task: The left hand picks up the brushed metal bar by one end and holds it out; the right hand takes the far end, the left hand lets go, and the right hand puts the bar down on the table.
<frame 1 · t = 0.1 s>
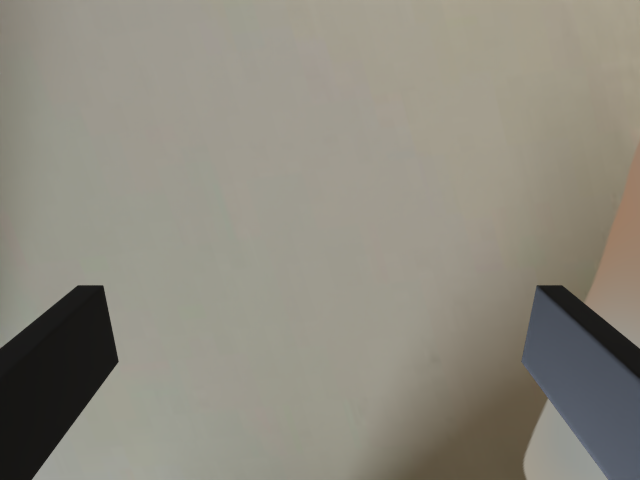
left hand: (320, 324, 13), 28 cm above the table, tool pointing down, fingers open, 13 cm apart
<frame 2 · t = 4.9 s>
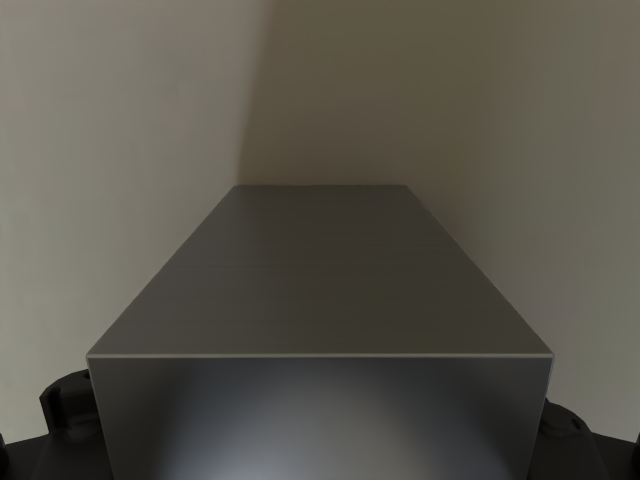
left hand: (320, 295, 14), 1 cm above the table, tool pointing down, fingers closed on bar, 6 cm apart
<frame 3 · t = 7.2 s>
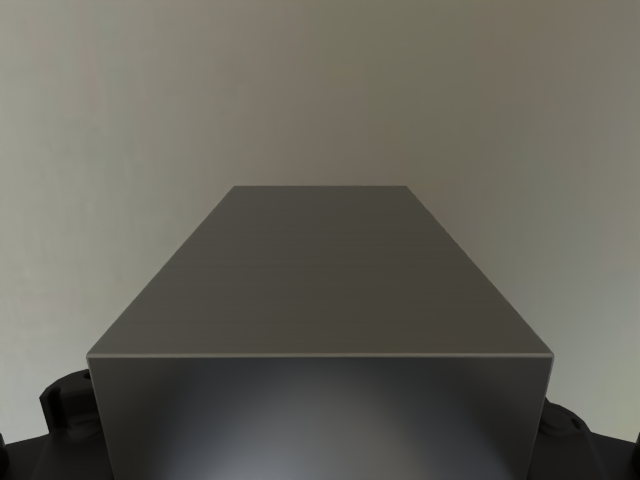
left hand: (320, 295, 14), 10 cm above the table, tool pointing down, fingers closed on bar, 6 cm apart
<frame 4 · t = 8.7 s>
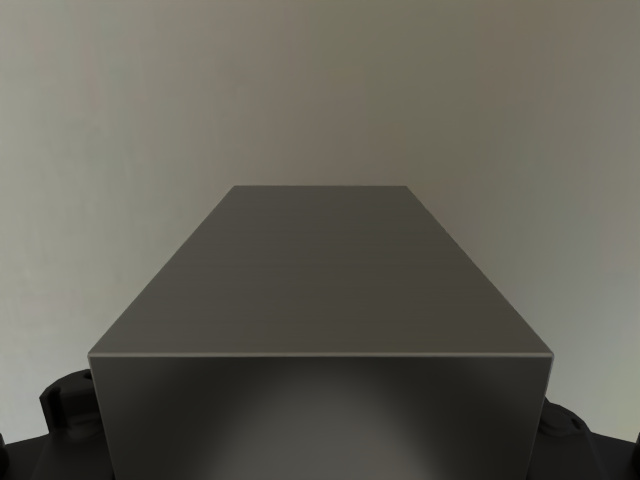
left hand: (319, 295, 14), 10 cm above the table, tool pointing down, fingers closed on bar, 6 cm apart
when the left hand's fingers open (10 cm above the table, at t = 9.8 s): bar stays where it is, held by the right hand.
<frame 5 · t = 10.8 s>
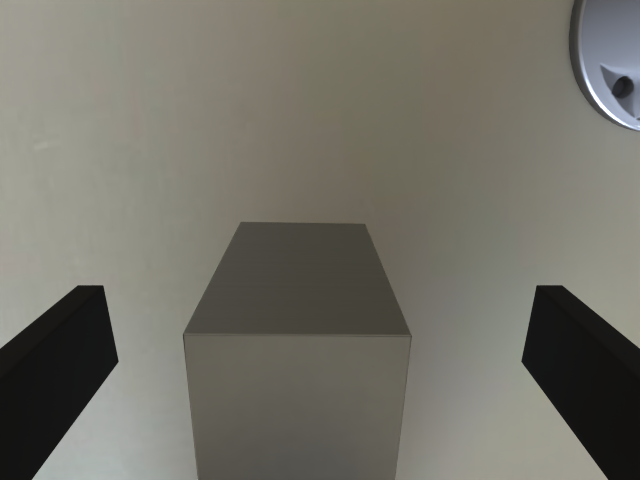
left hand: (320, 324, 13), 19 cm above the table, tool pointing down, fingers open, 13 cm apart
bar: (300, 446, 24), point 12 cm above the table, touching right hand
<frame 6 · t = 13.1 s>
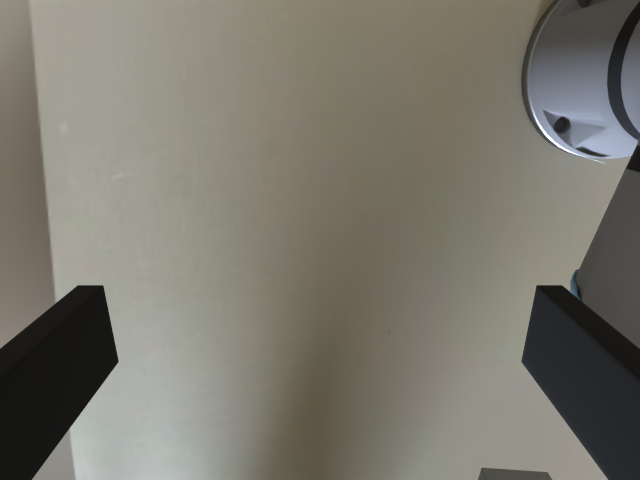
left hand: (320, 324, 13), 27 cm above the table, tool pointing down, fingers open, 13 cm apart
when the right hand's fingers open (6 cm above the table, at t = 17.3 s): bar stays where it is, on the table.
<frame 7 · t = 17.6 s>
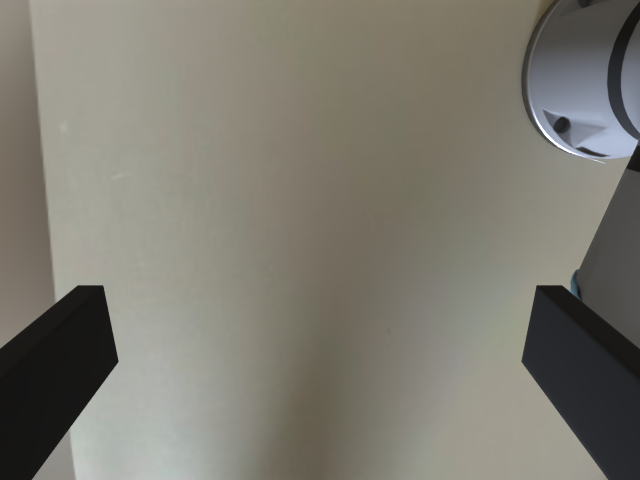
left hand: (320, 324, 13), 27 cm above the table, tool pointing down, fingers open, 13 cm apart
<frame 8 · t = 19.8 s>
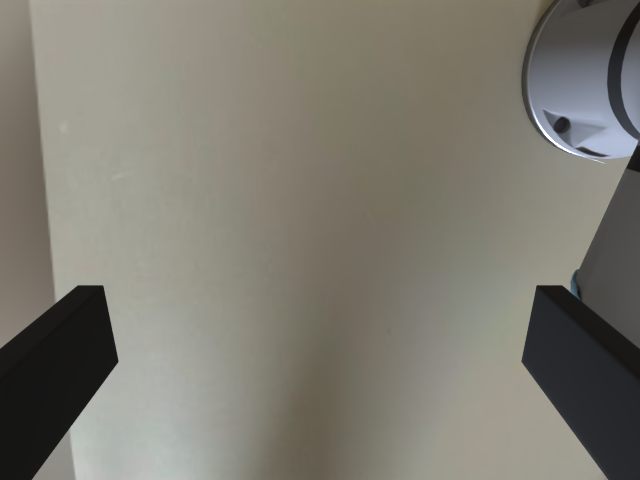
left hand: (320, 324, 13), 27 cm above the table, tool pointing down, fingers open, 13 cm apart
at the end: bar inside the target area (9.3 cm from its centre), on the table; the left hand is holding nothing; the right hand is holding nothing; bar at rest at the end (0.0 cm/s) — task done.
